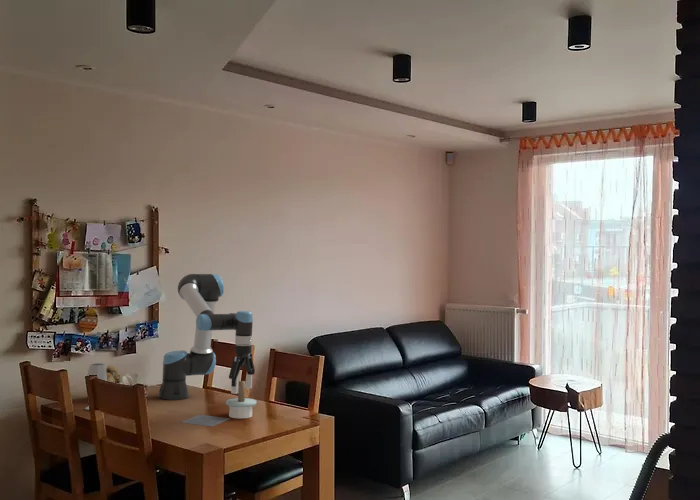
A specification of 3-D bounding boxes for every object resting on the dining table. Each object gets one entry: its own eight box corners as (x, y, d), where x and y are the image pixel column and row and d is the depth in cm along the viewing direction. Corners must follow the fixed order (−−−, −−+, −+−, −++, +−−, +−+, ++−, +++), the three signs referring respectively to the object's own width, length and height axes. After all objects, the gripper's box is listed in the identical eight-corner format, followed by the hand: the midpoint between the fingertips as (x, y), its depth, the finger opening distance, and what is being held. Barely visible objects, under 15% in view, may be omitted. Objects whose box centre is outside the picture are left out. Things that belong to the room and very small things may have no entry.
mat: (200, 415, 302) (200, 414, 302) (231, 419, 296) (231, 418, 296) (180, 423, 287) (180, 422, 287) (212, 427, 281) (212, 426, 281)
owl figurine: (94, 396, 335) (96, 362, 336) (119, 395, 340) (121, 362, 340) (94, 403, 319) (96, 368, 319) (120, 402, 323) (122, 367, 323)
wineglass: (81, 409, 305) (83, 364, 305) (95, 406, 313) (97, 362, 313) (96, 412, 301) (98, 366, 302) (109, 408, 309) (111, 363, 310)
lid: (235, 399, 312) (236, 377, 312) (261, 402, 307) (262, 380, 307) (219, 405, 298) (220, 382, 299) (247, 408, 294) (248, 385, 294)
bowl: (236, 412, 309) (236, 400, 309) (256, 415, 306) (256, 402, 306) (224, 417, 299) (225, 404, 299) (245, 420, 296) (245, 407, 296)
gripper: (237, 348, 290) (235, 396, 290) (263, 342, 314) (261, 387, 313) (222, 347, 293) (220, 394, 292) (249, 341, 316) (247, 385, 316)
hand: (241, 391), depth 303 cm, fingers open, 13 cm apart
